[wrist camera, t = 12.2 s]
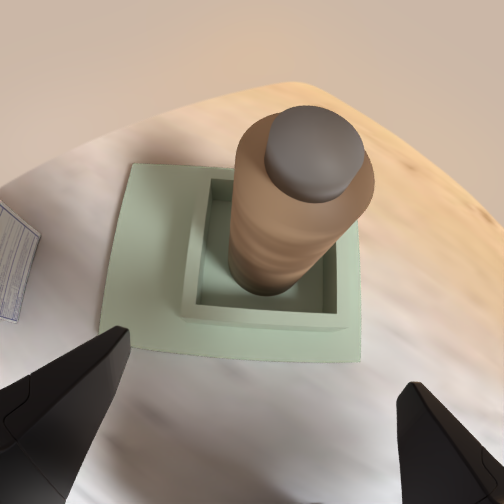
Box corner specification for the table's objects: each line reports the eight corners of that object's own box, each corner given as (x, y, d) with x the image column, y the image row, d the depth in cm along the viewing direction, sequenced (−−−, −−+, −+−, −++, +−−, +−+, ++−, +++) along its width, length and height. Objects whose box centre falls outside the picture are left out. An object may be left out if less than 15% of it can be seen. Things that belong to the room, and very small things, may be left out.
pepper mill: (224, 293, 21) (230, 202, 9) (230, 221, 23) (243, 79, 10) (302, 298, 21) (401, 222, 9) (302, 227, 23) (377, 101, 11)
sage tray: (103, 342, 20) (79, 337, 16) (136, 171, 25) (124, 140, 21) (353, 362, 21) (379, 361, 17) (349, 190, 26) (367, 163, 22)
